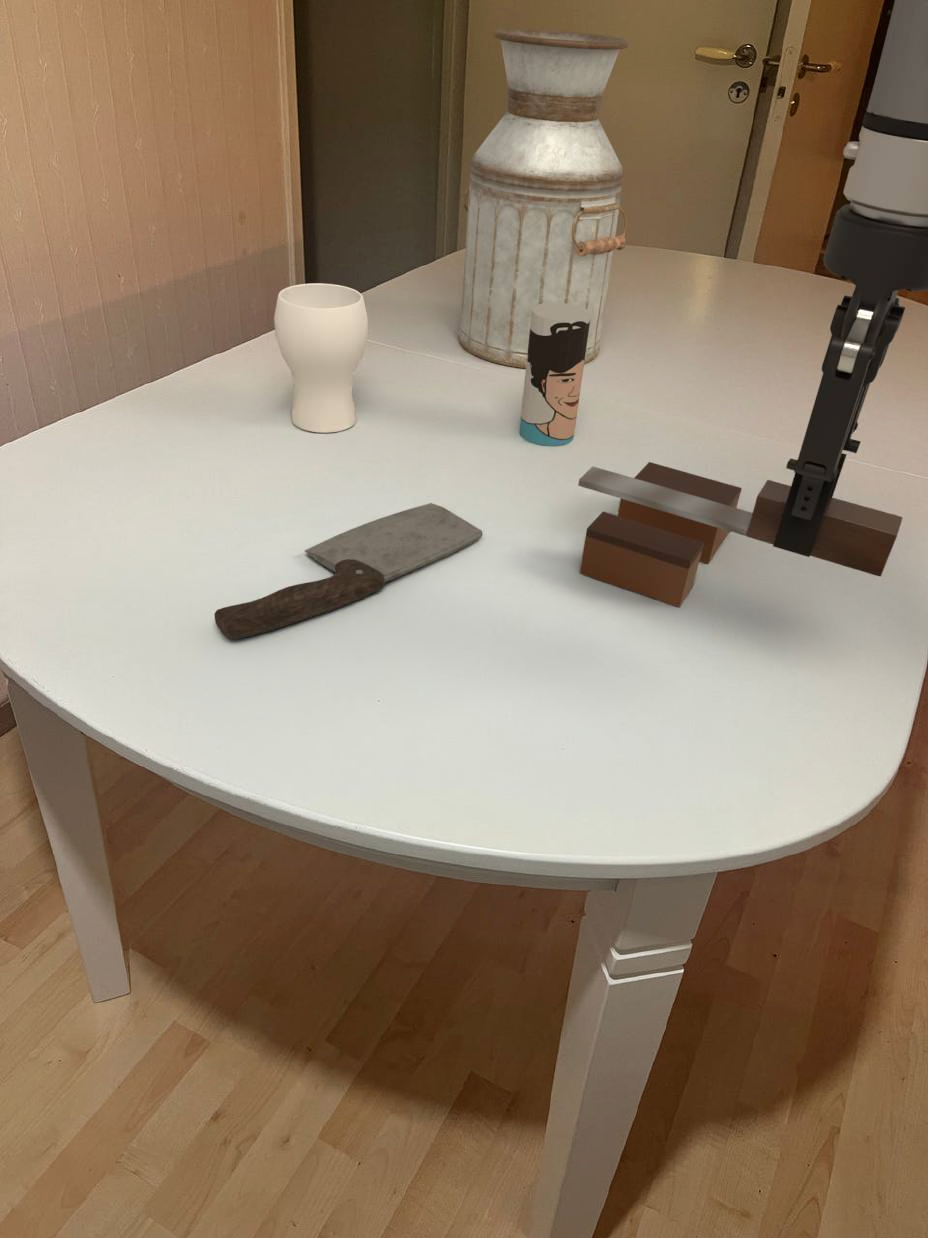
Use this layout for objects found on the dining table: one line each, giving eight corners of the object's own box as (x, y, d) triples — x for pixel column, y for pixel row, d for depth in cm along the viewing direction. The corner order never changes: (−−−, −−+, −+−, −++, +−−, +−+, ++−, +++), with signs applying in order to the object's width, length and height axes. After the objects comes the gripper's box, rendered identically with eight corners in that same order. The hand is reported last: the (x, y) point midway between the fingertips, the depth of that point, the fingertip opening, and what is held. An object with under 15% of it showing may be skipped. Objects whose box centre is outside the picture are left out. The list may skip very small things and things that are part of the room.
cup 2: (541, 450, 110) (556, 324, 101) (508, 428, 114) (520, 306, 105) (585, 439, 113) (603, 316, 104) (551, 418, 117) (566, 299, 109)
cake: (730, 530, 97) (742, 487, 94) (708, 564, 91) (719, 519, 88) (640, 503, 100) (649, 461, 98) (613, 534, 95) (621, 490, 92)
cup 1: (261, 420, 112) (252, 294, 103) (321, 395, 119) (318, 276, 110) (326, 446, 107) (323, 317, 98) (385, 419, 114) (387, 296, 105)
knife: (886, 558, 70) (903, 516, 68) (880, 577, 67) (897, 534, 65) (591, 471, 78) (598, 432, 76) (577, 486, 76) (583, 445, 74)
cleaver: (248, 659, 74) (247, 638, 73) (180, 606, 79) (177, 586, 78) (492, 539, 93) (494, 521, 91) (423, 503, 98) (424, 485, 97)
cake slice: (692, 587, 87) (704, 542, 84) (679, 607, 85) (690, 561, 82) (595, 555, 91) (602, 510, 88) (579, 573, 88) (586, 528, 85)
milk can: (423, 331, 141) (434, 24, 118) (524, 310, 153) (553, 26, 130) (533, 384, 127) (571, 45, 103) (636, 356, 138) (690, 45, 115)
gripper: (860, 181, 64) (772, 484, 78) (814, 223, 52) (720, 571, 66) (976, 199, 61) (864, 509, 75) (956, 248, 50) (827, 605, 63)
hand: (797, 537), depth 71 cm, fingers closed on knife, 3 cm apart
